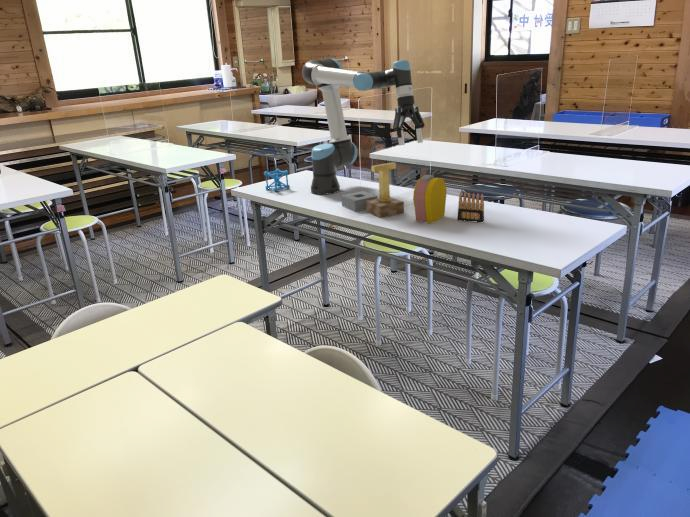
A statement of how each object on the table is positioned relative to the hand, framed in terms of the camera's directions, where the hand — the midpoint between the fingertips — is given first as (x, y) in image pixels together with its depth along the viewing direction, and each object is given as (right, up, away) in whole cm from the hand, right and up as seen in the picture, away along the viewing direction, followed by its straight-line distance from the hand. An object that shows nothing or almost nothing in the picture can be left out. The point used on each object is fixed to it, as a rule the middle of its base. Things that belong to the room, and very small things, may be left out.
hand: (411, 143), depth 248 cm
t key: (-13, -32, -8) cm, 35 cm away
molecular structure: (-66, -15, +43) cm, 80 cm away
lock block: (-13, -32, -8) cm, 35 cm away
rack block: (-24, -28, +3) cm, 37 cm away
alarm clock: (+5, -36, -20) cm, 41 cm away
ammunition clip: (+21, -37, -25) cm, 50 cm away
